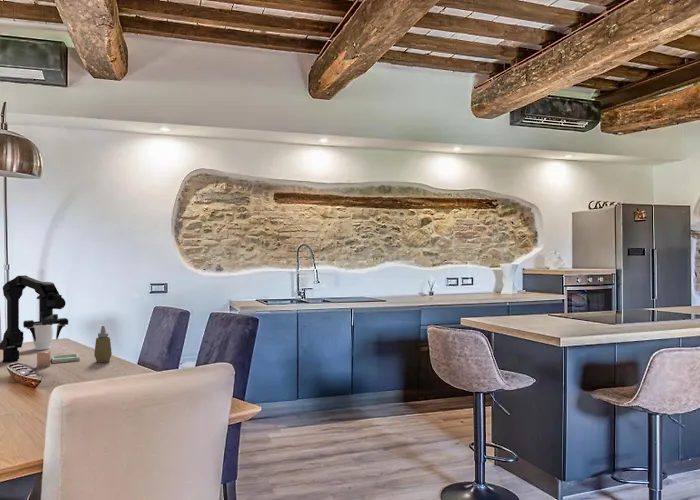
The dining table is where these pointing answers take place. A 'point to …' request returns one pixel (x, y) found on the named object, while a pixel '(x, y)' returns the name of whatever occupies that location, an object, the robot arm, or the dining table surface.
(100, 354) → the squeeze bottle
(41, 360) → the pink rounded cylinder
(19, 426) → the dining table surface
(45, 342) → the jar
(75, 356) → the tray
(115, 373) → the dining table surface
